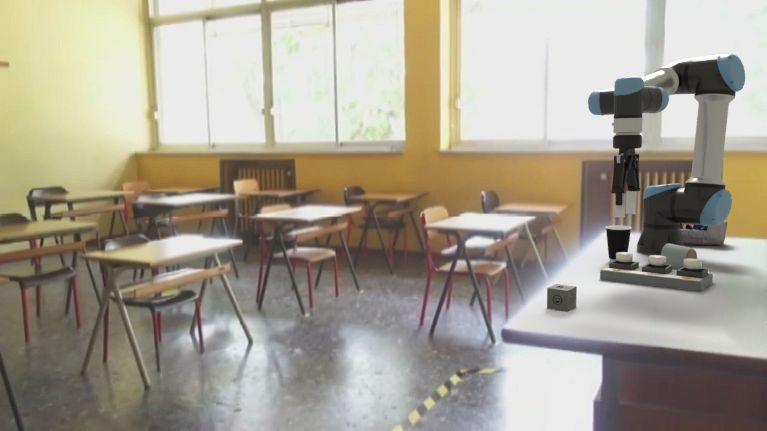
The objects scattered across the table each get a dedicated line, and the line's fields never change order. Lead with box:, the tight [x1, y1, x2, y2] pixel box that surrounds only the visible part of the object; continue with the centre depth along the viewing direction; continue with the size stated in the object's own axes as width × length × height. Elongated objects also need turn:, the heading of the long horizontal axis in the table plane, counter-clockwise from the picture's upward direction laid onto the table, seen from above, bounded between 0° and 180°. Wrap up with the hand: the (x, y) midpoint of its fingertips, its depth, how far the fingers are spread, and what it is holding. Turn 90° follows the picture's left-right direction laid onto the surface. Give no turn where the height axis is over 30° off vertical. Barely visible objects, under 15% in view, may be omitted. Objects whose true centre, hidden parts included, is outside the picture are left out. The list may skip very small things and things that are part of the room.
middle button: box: [648, 255, 666, 265], centre depth 177 cm, size 4×4×2 cm
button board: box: [599, 260, 714, 292], centre depth 176 cm, size 12×26×4 cm, turn 51°
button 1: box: [616, 251, 634, 262], centre depth 182 cm, size 4×4×2 cm
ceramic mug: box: [660, 243, 698, 270], centre depth 190 cm, size 11×8×8 cm
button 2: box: [683, 258, 703, 269], centre depth 171 cm, size 4×4×2 cm
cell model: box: [680, 218, 728, 246], centre depth 234 cm, size 13×11×20 cm
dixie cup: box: [605, 225, 633, 263], centre depth 204 cm, size 8×8×11 cm
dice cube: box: [546, 283, 578, 313], centre depth 150 cm, size 5×5×5 cm
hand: (625, 215), depth 181 cm, fingers open, 8 cm apart
